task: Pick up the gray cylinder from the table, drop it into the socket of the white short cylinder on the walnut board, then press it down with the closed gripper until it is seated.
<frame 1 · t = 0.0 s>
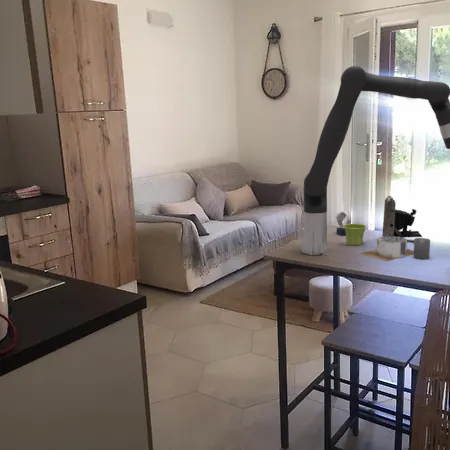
gray cylinder: (421, 260, 190), on the table
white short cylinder: (391, 254, 196), resting on mount board
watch: (343, 234, 235), on the table
mount board: (390, 255, 198), on the table
plant pot: (354, 246, 214), on the table
vintage camera: (401, 242, 217), on the table
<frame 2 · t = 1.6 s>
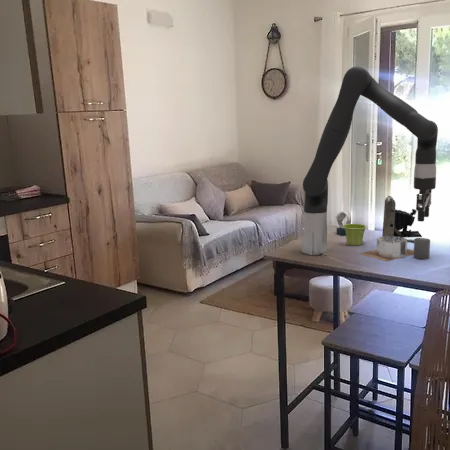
hand: (423, 219, 187), 16 cm above the table, fingers open, 8 cm apart
nothing on the table moved.
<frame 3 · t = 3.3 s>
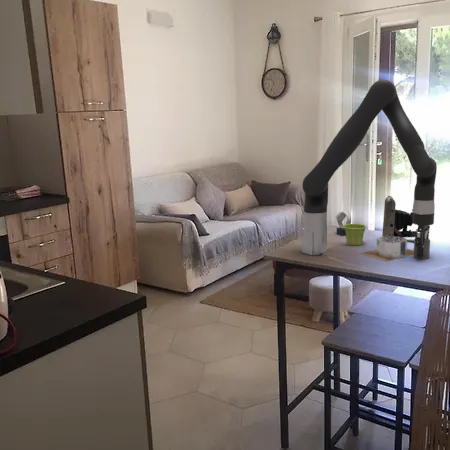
hand: (421, 254, 190), 2 cm above the table, fingers closed on gray cylinder, 5 cm apart
gray cylinder: (421, 260, 190), on the table, touching gripper
everything else where it was.
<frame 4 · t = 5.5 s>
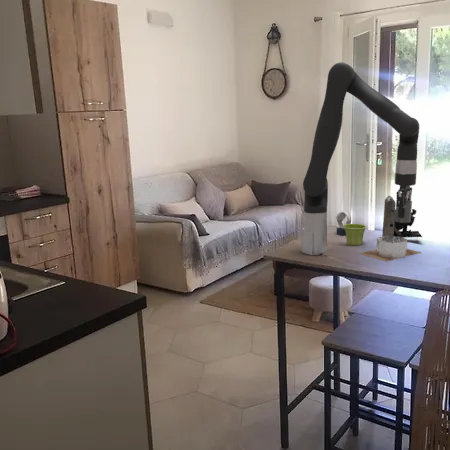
hand: (402, 216, 190), 17 cm above the table, fingers closed on gray cylinder, 5 cm apart
gray cylinder: (402, 221, 191), point 15 cm above the table, touching gripper
everything else where it was.
when the fingers open (8 cm above the table, at t = 8.0 s): gray cylinder drops 2 cm, resting on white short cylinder.
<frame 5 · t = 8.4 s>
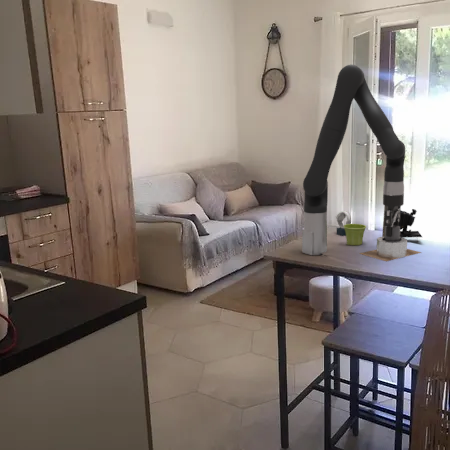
hand: (392, 234, 194), 9 cm above the table, fingers open, 8 cm apart
gray cylinder: (391, 246, 195), point 4 cm above the table, touching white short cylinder
everything else where it was.
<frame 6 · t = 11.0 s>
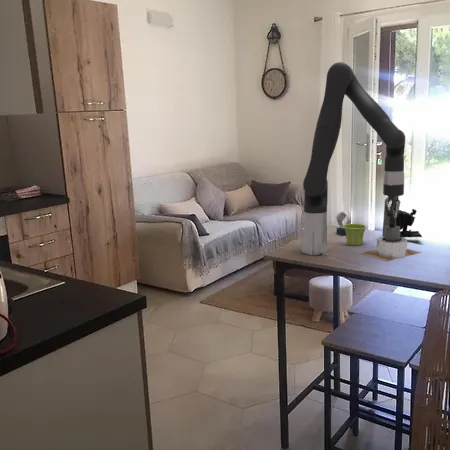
hand: (392, 226, 193), 12 cm above the table, fingers closed
gray cylinder: (391, 246, 195), point 4 cm above the table, touching gripper, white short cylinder
everything else where it was.
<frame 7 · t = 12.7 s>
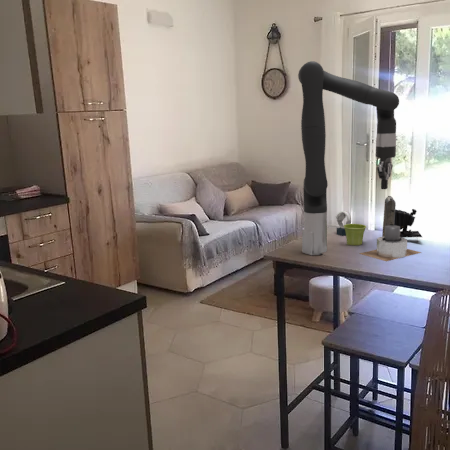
hand: (384, 188, 199), 26 cm above the table, fingers closed
gray cylinder: (391, 246, 195), point 4 cm above the table, touching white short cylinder
everything else where it was.
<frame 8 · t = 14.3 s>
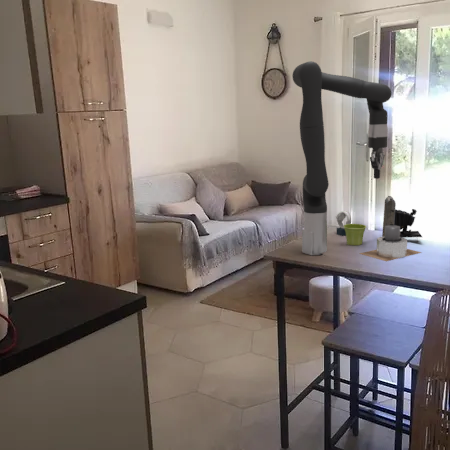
hand: (376, 178, 206), 29 cm above the table, fingers closed
nothing on the table moved.
at the end: gray cylinder 0.1 cm off-centre on the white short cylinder, point 3.0 cm above the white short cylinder's base; gray cylinder tilted 0°; the gripper is holding nothing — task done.
